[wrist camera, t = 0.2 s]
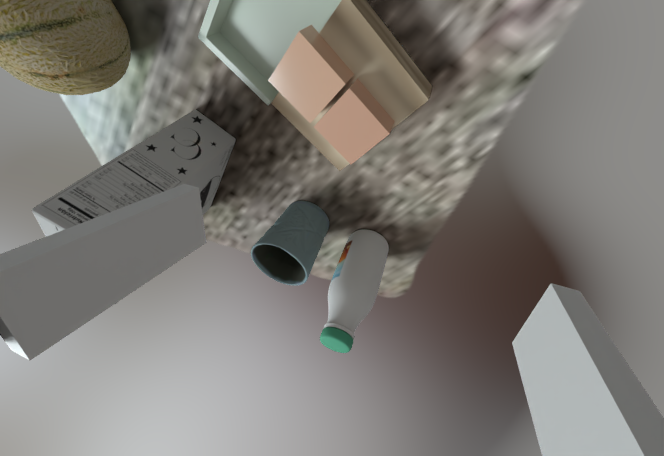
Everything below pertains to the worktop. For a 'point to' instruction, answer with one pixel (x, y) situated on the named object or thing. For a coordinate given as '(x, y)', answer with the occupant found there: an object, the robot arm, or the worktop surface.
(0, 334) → the robot arm
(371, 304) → the milk bottle
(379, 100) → the board
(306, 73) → the tile
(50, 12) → the cantaloupe
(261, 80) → the tray
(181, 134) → the cereal box
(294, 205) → the grey-blue hollow tapered cylinder
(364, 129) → the tile
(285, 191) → the worktop surface
